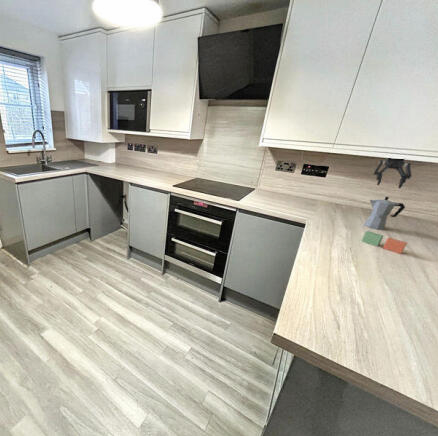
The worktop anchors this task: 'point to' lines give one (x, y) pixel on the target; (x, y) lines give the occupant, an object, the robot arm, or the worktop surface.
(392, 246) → the pair of rectangular blocks
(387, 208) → the coffeepot
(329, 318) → the worktop surface
